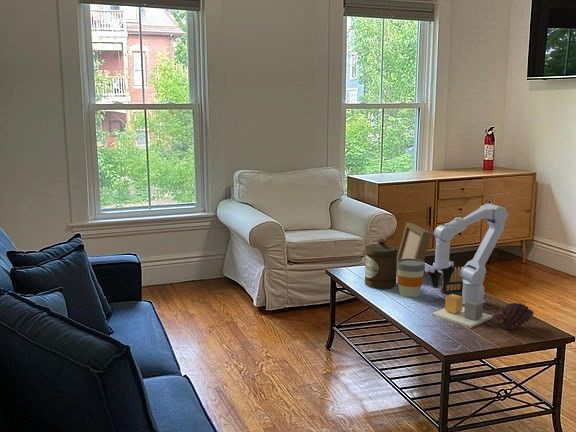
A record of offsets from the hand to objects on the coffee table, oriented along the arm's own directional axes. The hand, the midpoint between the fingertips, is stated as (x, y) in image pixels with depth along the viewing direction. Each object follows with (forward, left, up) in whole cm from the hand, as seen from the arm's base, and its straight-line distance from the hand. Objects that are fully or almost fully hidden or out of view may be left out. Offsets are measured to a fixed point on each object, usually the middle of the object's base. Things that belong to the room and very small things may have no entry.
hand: (440, 285), depth 258 cm
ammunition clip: (-21, -8, -10) cm, 24 cm away
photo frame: (-29, -35, -10) cm, 47 cm away
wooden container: (-5, -37, -10) cm, 39 cm away
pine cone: (-2, +33, -10) cm, 34 cm away
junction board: (+3, +13, -9) cm, 16 cm away
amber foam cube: (+3, +9, -8) cm, 12 cm away
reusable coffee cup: (-4, -19, -10) cm, 22 cm away
